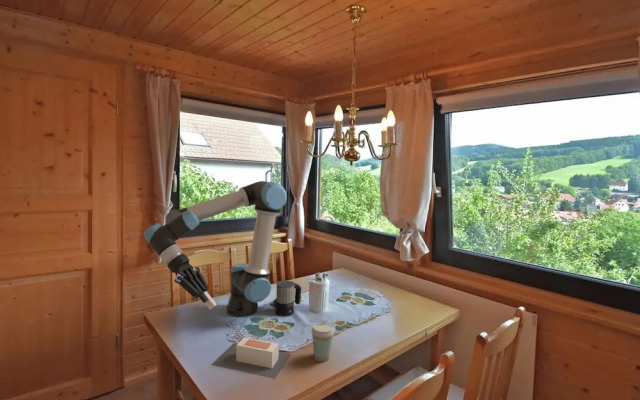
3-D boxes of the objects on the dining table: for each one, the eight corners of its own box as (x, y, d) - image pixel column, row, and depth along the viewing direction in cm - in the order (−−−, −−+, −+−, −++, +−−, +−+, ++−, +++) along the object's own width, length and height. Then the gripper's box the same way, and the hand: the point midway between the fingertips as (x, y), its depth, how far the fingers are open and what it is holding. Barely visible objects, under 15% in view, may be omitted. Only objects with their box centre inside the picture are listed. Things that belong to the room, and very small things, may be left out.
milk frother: (286, 318, 160) (287, 288, 159) (260, 310, 168) (261, 281, 167) (303, 308, 173) (304, 280, 171) (278, 301, 181) (279, 274, 179)
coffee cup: (331, 351, 133) (333, 322, 132) (333, 364, 125) (334, 332, 123) (310, 350, 133) (311, 321, 132) (310, 363, 124) (311, 332, 123)
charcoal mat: (211, 366, 120) (211, 364, 120) (233, 344, 135) (233, 342, 135) (274, 380, 114) (274, 378, 114) (290, 355, 129) (290, 353, 129)
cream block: (236, 344, 122) (272, 351, 119) (244, 336, 128) (278, 343, 124) (236, 360, 123) (271, 368, 119) (243, 352, 128) (278, 359, 125)
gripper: (180, 260, 137) (216, 306, 134) (157, 269, 124) (196, 320, 122) (191, 249, 135) (228, 295, 132) (169, 257, 122) (210, 308, 120)
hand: (213, 307), depth 127 cm, fingers closed
